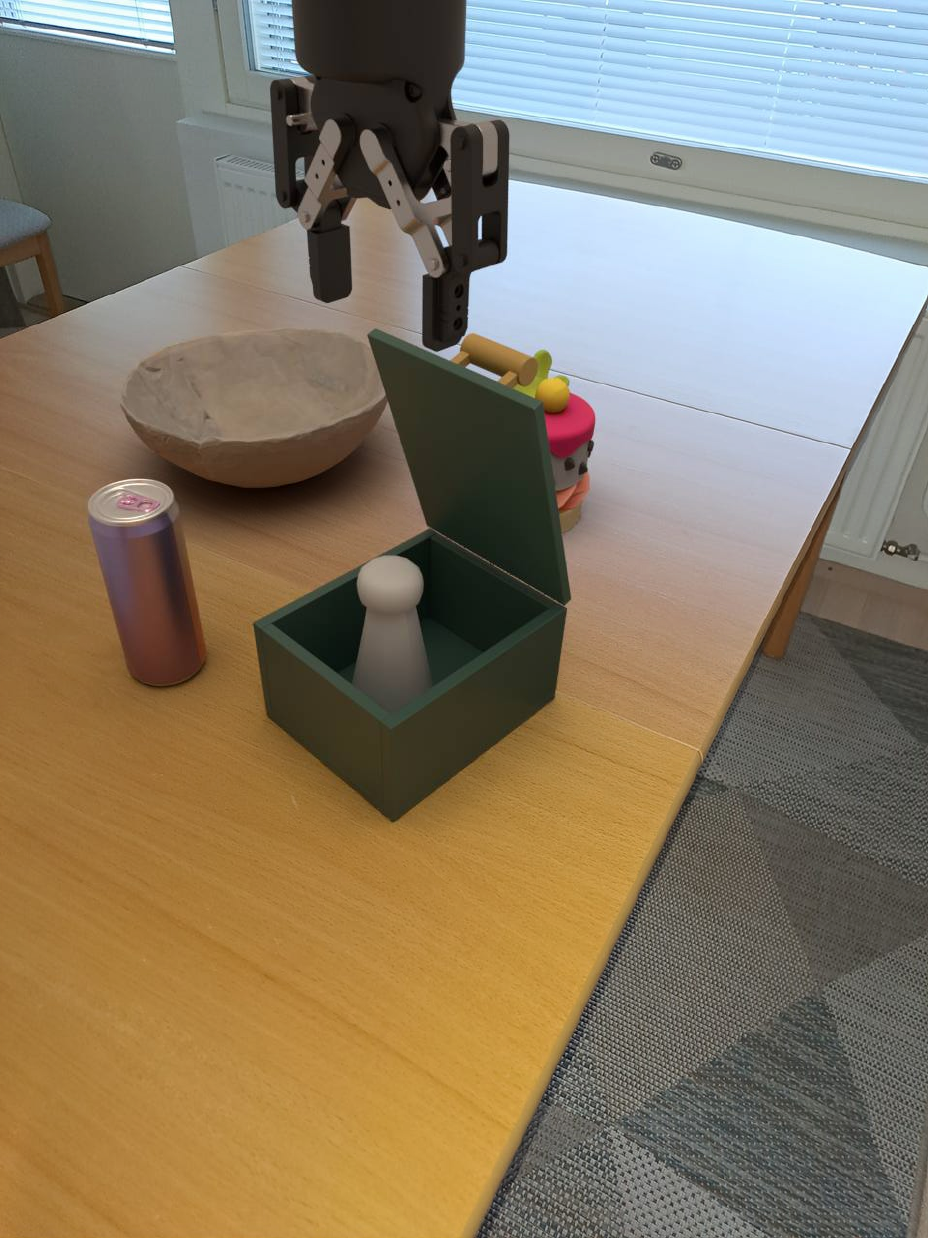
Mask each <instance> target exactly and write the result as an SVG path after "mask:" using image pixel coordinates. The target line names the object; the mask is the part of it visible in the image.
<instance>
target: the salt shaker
mask: <svg viewBox="0 0 928 1238" xmlns="http://www.w3.org/2000/svg"><path fill="white" fill-rule="evenodd" d="M373 558H374V559H373ZM373 558H372V560H371V559H370V560H371V561H370V560H369V561H370V562H368V561H367V562H368V563H367V564H365V565H364V566H363V567H361V570H360V572H359V575H358V579H357V590H358V594H359V597H360V601H361V603H362V604H363V605H364V606H366V607H367V610H366V616H365V622H364V627H363V632H362V637H361V642H360V647H359V652H358V657H357V662H356V667H355V672H354V677H353V682H352V685H353V686H355V687H356V688H357V689H359V690H360V691H361V692H362V693H364V694H365V695H366V696H368V697H369V698H370V699H372V700H373V701H374V702H376V703H377V704H378V705H380V706H381V707H382V708H384V709H385V710H386V711H388V712H389V713H390V714H391V715H392V714H394V713H395V712H396V711H398V710H399V709H401V708H402V707H404V706H405V705H407V704H408V703H410V702H411V701H413V700H414V699H416V698H417V697H419V696H420V695H422V694H423V693H425V692H426V691H428V690H429V689H431V688H432V687H433V683H432V678H431V673H430V669H429V664H428V660H427V655H426V651H425V646H424V642H423V637H422V632H421V628H420V623H419V619H418V614H417V610H416V605H417V604H418V603H419V601H420V599H421V596H422V593H423V587H424V581H423V577H422V574H421V571H420V569H419V567H418V566H416V565H415V564H414V563H412V562H411V561H410V560H408V559H407V558H403V557H399V556H381V557H378V558H375V557H373Z"/></svg>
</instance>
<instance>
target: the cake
mask: <svg viewBox="0 0 928 1238" xmlns="http://www.w3.org/2000/svg"><path fill="white" fill-rule="evenodd" d="M533 357H534V358H535V359H536V360H537V362H538V372H537V375H536V377H535V379H534V380H533V382H532V383H531V384H530V385H528V386H521V385H519V384H517V385H516V386H515V387H514V388H513V389H515V390H517V391H520V392H522V393H524V394H527V395H529V396H531V397H533V398H536V399H538V400H540V401H542V402H543V406H544V413H545V420H546V427H547V434H548V441H549V448H550V455H551V461H552V468H553V475H554V482H555V489H556V496H557V503H558V510H559V517H560V524H561V531H562V534H564V533H566V532H568V531H570V530H572V528H574V527H575V526H576V525H577V524H578V522H579V519H580V516H581V512H582V504H583V500H584V498H585V497H586V496H587V494H588V493H589V490H590V474H589V468H588V461H589V460H588V459H589V458H590V457H591V455H592V452H593V450H594V446H595V441H594V440H593V437H594V434H595V427H596V414H595V411H594V408H593V407H592V406H591V405H590V404H589V402H587V401H586V400H585V399H584V398H582V397H581V396H579V395H577V394H575V393H572V392H571V390H570V388H569V385H570V379H569V378H568V377H567V376H566V375H562V374H561V375H560V374H559V375H556V376H554V377H549V373H550V370H551V367H552V364H553V358H552V355H551V354H550V352H549V351H547V350H546V349H540V350H538V351H537V352H535V354H534V355H533Z"/></svg>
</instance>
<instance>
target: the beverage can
mask: <svg viewBox="0 0 928 1238" xmlns="http://www.w3.org/2000/svg"><path fill="white" fill-rule="evenodd" d="M87 512H88V517H87V522H88V527H89V530H90V533H91V538H92V541H93V545H94V549H95V552H96V557H97V560H98V563H99V567H100V571H101V574H102V578H103V579H102V580H103V582H104V587H105V589H106V594H107V597H108V600H109V605H110V609H111V612H112V616H113V620H114V623H115V627H116V631H117V635H118V638H119V643H120V646H121V649H122V653H123V657H124V661H125V664H126V668H127V671H128V673H130V674H131V675H132V676H133V677H134V678H135V679H137V680H138V681H140V683H141V682H142V683H144V684H146V685H149V686H152V687H153V686H154V687H169V686H174V685H178V684H181V683H183V682H186V681H187V680H190V678H192V677H193V676H195V675H196V674H197V673H198V672H199V670H200V669H201V668H202V666H203V664H204V662H205V660H206V657H207V648H206V642H205V636H204V630H203V626H202V622H201V615H200V610H199V605H198V599H197V595H196V590H195V583H194V579H193V573H192V568H191V563H190V558H189V552H188V548H187V541H186V537H185V532H184V531H185V530H184V527H183V520H182V515H181V510H180V506H179V504H178V502H177V500H176V499H175V494H174V492H173V490H172V488H170V487H169V486H168V485H167V484H165V483H163V482H161V481H158V480H156V479H151V478H150V479H149V478H129V479H123V480H118V481H115V482H111V483H109V484H107V485H105V486H102V487H101V488H99V489H97V490H96V491H95V492H93V494H92V495H91V496H90V497H89V500H88V502H87Z"/></svg>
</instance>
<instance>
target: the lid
mask: <svg viewBox="0 0 928 1238" xmlns="http://www.w3.org/2000/svg"><path fill="white" fill-rule="evenodd" d="M366 336H367V339H368V343H369V344H370V346H371V349H372V352H373V355H374V358H375V362H376V365H377V368H378V371H379V374H380V378H381V381H382V384H383V387H384V390H385V394H386V397H387V400H388V402H387V404H388V406H389V409H390V412H391V416H392V419H393V423H394V425H395V428H396V432H397V435H398V438H399V441H400V444H401V447H402V451H403V454H404V458H405V460H406V464H407V466H408V469H409V473H410V476H411V480H412V483H413V486H414V489H415V492H416V495H417V499H418V502H419V505H420V509H421V511H422V514H423V518H424V521H425V524H426V526H427V527H428V528H431V529H432V530H434V531H436V532H437V533H439V534H441V535H442V536H444V537H446V538H447V539H449V540H451V541H453V542H454V543H456V544H458V545H459V546H461V547H463V548H465V549H466V550H468V551H470V552H471V553H473V554H475V555H477V556H478V557H480V558H482V559H483V560H485V561H487V562H489V563H490V564H492V565H494V566H495V567H497V568H499V569H501V570H502V571H504V572H506V573H507V574H509V575H511V576H513V577H514V578H516V579H518V580H519V581H521V582H523V583H525V584H526V585H528V586H530V587H531V588H533V589H535V590H537V591H538V592H540V593H542V594H543V595H545V596H547V597H549V598H550V599H552V600H554V601H555V602H557V603H559V604H561V605H563V606H565V607H566V605H567V604H568V603H569V602H570V601H571V600H572V594H571V588H570V581H569V572H568V567H567V559H566V552H565V545H564V538H563V533H562V531H561V524H560V517H559V510H558V503H557V496H556V489H555V482H554V475H553V468H552V461H551V455H550V448H549V441H548V434H547V427H546V420H545V413H544V406H543V402H542V401H540V400H538V399H536V398H533V397H531V396H529V395H527V394H524V393H522V392H520V391H517V390H515V389H513V388H514V387H515V386H516V385H517V384H519V385H521V386H528V385H530V384H531V383H532V382H533V380H534V379H535V377H536V375H537V372H538V362H537V360H536V359H535V358H534V356H531V355H529V354H527V353H524V352H521V351H520V350H516V349H514V348H512V347H509V346H507V345H505V344H503V343H499V342H498V341H494V340H492V339H490V338H487V337H485V336H483V335H480V334H478V333H474V332H471V333H468V334H467V335H466V336H464V337H463V340H462V341H461V344H460V347H459V353H457V354H456V355H454V356H453V357H452V358H451V359H450V360H449V359H447V358H445V357H442V356H440V355H438V354H435V353H433V352H431V351H429V350H426V349H424V348H422V347H419V346H417V345H415V344H413V343H411V342H408V341H406V340H404V339H401V338H399V337H397V336H394V335H393V334H390V333H388V332H385V331H383V330H381V329H379V328H377V327H375V328H373V329H372V330H371V331H369V332H368V333H367V335H366ZM470 364H471V365H472V366H475V367H477V368H479V369H482V370H484V371H487V372H489V373H491V374H493V375H496V376H499V377H500V378H499V379H498V380H494V379H493V378H491V377H488V376H485V375H483V374H481V373H479V372H476V371H475V370H472V369H470V368H467V366H469V365H470Z"/></svg>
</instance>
